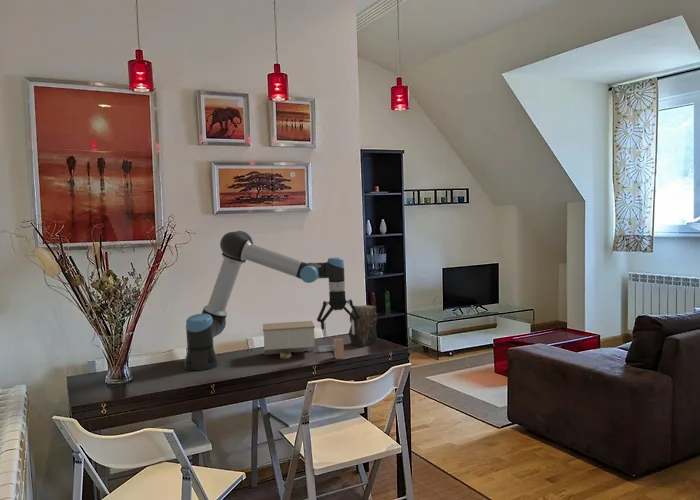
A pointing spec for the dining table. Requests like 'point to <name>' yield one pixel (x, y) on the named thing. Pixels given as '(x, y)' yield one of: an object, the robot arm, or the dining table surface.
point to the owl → (364, 326)
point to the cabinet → (288, 337)
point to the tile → (285, 354)
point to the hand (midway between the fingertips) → (339, 334)
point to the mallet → (335, 348)
